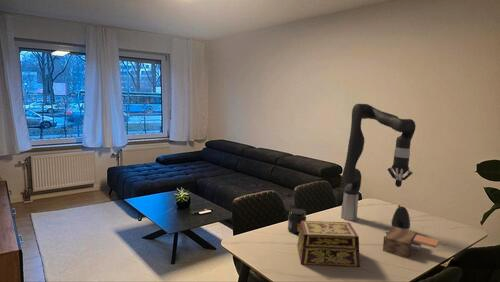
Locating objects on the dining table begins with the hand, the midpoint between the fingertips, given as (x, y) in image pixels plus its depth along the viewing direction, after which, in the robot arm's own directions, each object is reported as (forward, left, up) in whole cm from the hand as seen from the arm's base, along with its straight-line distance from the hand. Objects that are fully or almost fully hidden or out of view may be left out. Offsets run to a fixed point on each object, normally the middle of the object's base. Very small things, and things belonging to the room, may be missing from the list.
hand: (398, 186), depth 175 cm
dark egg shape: (0, +15, -31) cm, 34 cm away
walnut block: (+5, -9, -31) cm, 32 cm away
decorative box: (-21, -43, -31) cm, 57 cm away
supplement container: (-48, -25, -31) cm, 62 cm away
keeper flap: (+11, -9, -23) cm, 27 cm away
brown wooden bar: (+6, -9, -30) cm, 32 cm away
